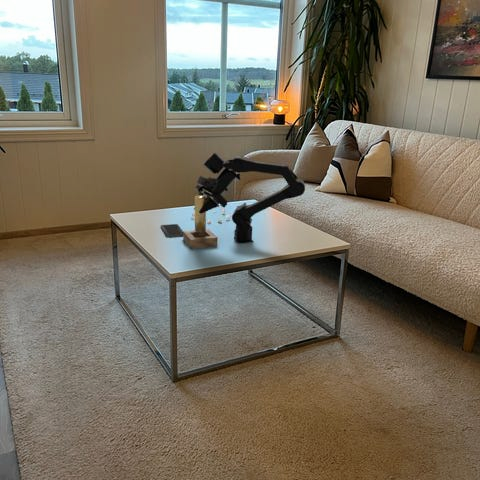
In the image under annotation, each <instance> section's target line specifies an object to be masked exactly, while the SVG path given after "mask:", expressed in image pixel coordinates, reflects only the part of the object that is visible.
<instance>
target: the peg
mask: <svg viewBox="0 0 480 480" xmlns="http://www.w3.org/2000/svg"><path fill="white" fill-rule="evenodd" d="M205 202H206V196H203V195H199V194H198V195H195V196H194V208H195V210H194V213H195V215H194V217H195V219H194V230H195V231H196V232H205V231H206V229H207V211H206V212H204V213H202V214H200V213H199V211H200V209H201V208H202V206H203V205H204V204H205Z"/></svg>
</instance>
